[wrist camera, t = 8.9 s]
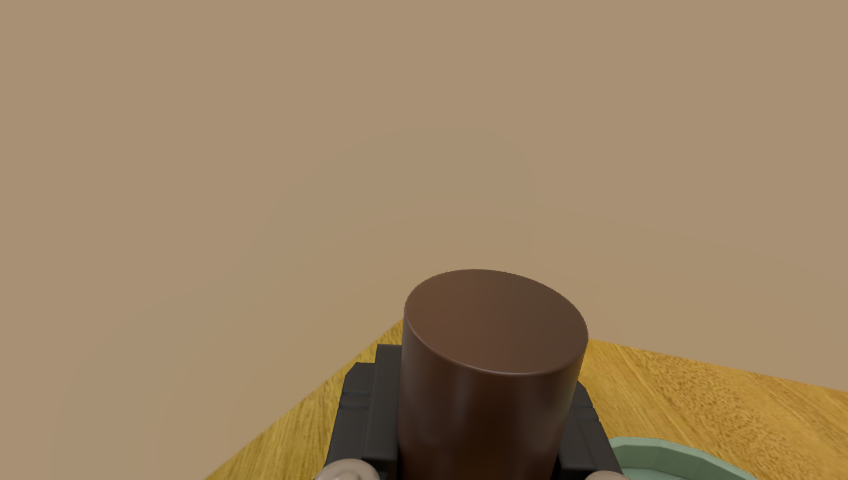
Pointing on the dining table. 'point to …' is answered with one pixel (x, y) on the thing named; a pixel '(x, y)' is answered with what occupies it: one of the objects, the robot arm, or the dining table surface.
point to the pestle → (485, 377)
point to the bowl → (670, 461)
